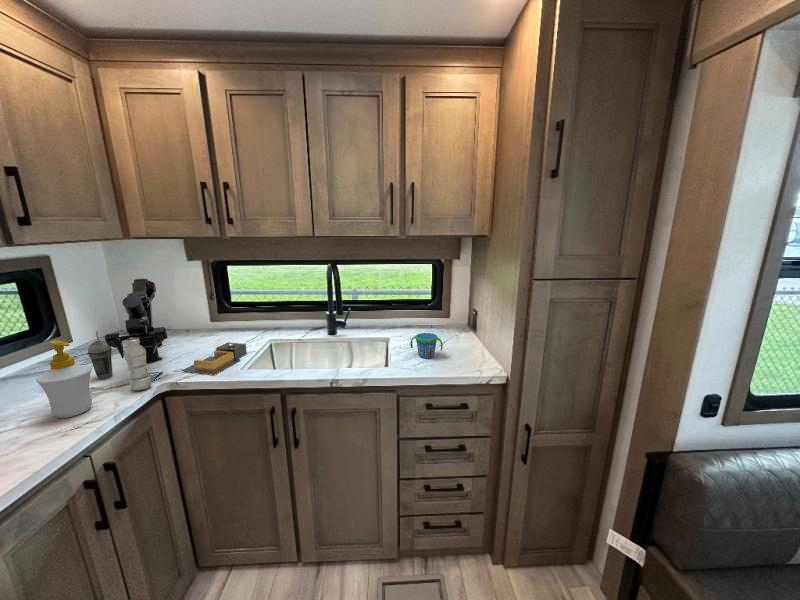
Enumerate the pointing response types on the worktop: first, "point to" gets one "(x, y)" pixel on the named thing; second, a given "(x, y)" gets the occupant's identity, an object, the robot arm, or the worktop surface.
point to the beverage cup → (101, 358)
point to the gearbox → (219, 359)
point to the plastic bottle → (137, 365)
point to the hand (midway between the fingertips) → (138, 355)
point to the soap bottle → (66, 384)
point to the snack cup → (426, 344)
